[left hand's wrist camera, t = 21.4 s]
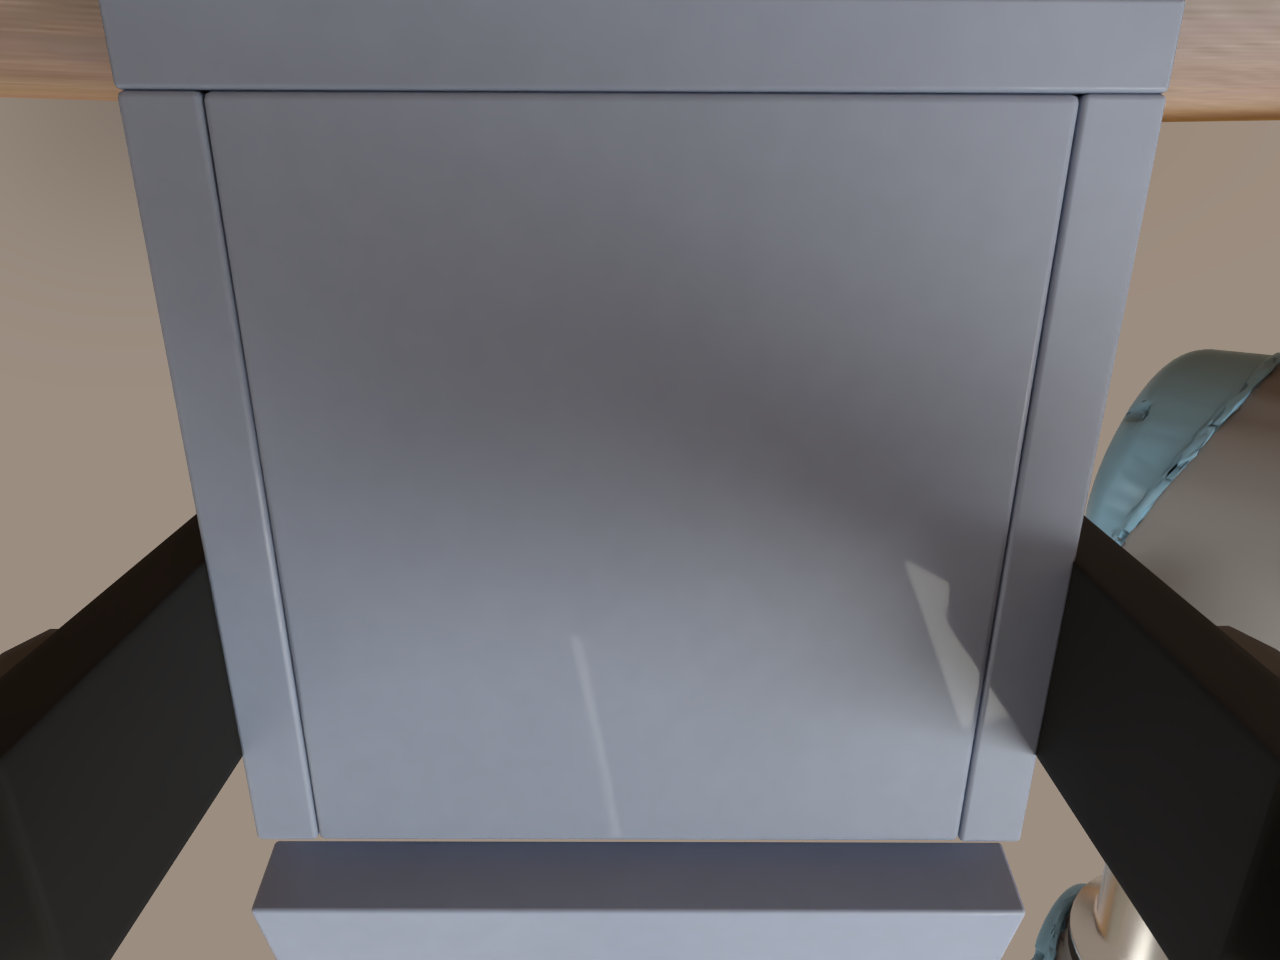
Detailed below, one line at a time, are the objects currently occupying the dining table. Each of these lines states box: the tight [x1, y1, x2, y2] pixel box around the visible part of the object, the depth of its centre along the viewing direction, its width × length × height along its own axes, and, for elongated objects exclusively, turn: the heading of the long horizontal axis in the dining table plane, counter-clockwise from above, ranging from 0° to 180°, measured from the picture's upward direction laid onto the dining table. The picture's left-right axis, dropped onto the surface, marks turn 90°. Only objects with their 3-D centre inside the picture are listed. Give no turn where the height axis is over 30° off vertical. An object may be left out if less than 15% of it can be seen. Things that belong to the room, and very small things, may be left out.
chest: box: [98, 0, 1185, 841], centre depth 16 cm, size 13×10×10 cm
